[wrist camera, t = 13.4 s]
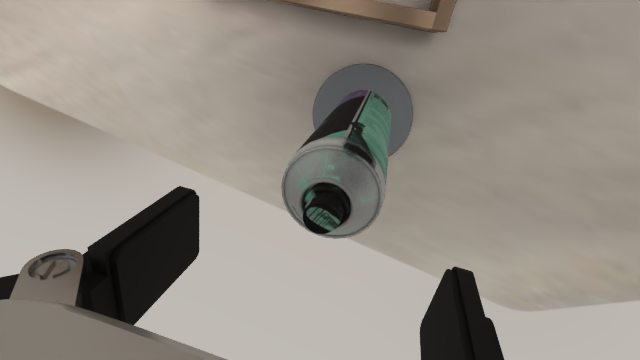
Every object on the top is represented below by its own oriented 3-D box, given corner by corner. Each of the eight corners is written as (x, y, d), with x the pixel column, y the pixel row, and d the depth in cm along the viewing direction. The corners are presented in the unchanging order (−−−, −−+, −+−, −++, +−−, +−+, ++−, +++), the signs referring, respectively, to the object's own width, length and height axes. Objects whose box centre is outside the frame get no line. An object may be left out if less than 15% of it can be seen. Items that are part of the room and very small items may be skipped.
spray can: (340, 85, 31) (264, 151, 13) (396, 93, 30) (394, 175, 13) (333, 138, 34) (260, 254, 16) (385, 147, 33) (370, 280, 15)
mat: (389, 44, 30) (389, 44, 29) (426, 140, 33) (427, 142, 32) (298, 90, 33) (296, 92, 32) (339, 173, 36) (337, 176, 35)
